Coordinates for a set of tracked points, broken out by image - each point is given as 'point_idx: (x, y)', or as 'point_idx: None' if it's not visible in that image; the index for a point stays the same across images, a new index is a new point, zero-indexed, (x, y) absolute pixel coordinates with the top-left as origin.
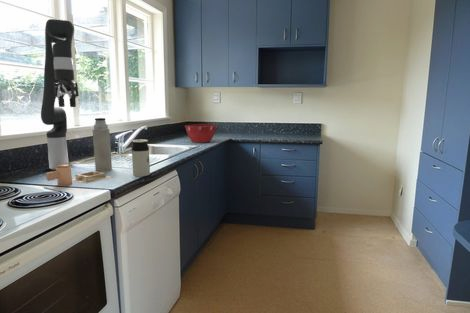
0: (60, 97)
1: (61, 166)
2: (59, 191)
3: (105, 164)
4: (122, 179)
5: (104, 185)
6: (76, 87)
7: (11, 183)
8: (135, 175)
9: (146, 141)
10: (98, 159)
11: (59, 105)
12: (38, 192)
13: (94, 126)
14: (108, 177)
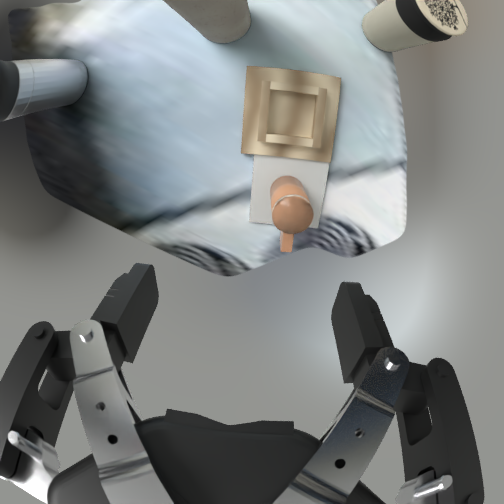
0: (119, 359)
1: (302, 227)
2: (316, 227)
3: (245, 22)
4: (361, 70)
5: (365, 139)
6: (465, 457)
7: (140, 228)
8: (387, 50)
9: (465, 16)
10: (225, 30)
11: (151, 307)
12: (271, 244)
13: None
14: (333, 88)
